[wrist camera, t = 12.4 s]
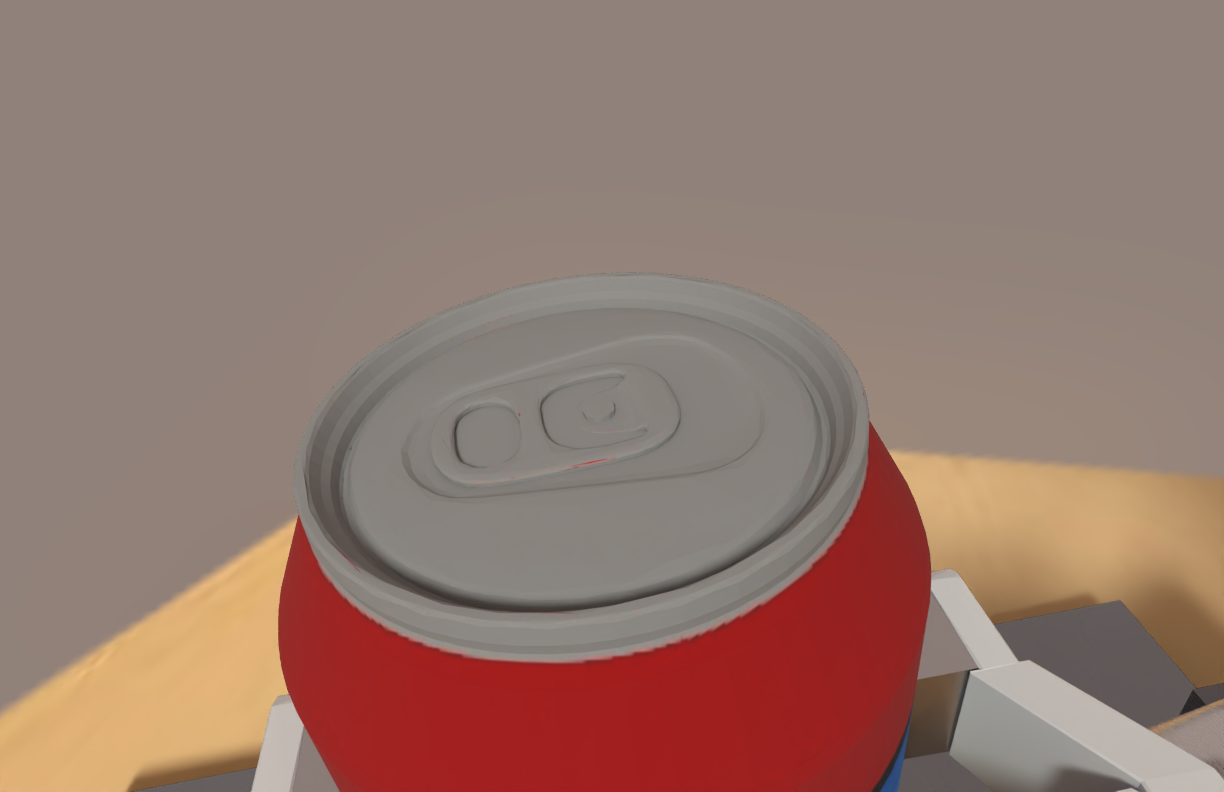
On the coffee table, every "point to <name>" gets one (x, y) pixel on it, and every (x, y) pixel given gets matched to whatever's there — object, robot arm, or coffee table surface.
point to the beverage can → (604, 552)
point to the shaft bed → (1062, 644)
